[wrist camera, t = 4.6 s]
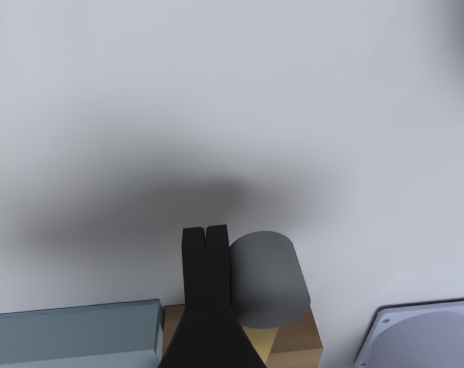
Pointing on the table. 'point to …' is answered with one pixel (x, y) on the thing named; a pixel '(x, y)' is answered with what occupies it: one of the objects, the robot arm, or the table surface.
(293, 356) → the block
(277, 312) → the lever
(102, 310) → the shallow square tray
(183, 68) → the table surface
